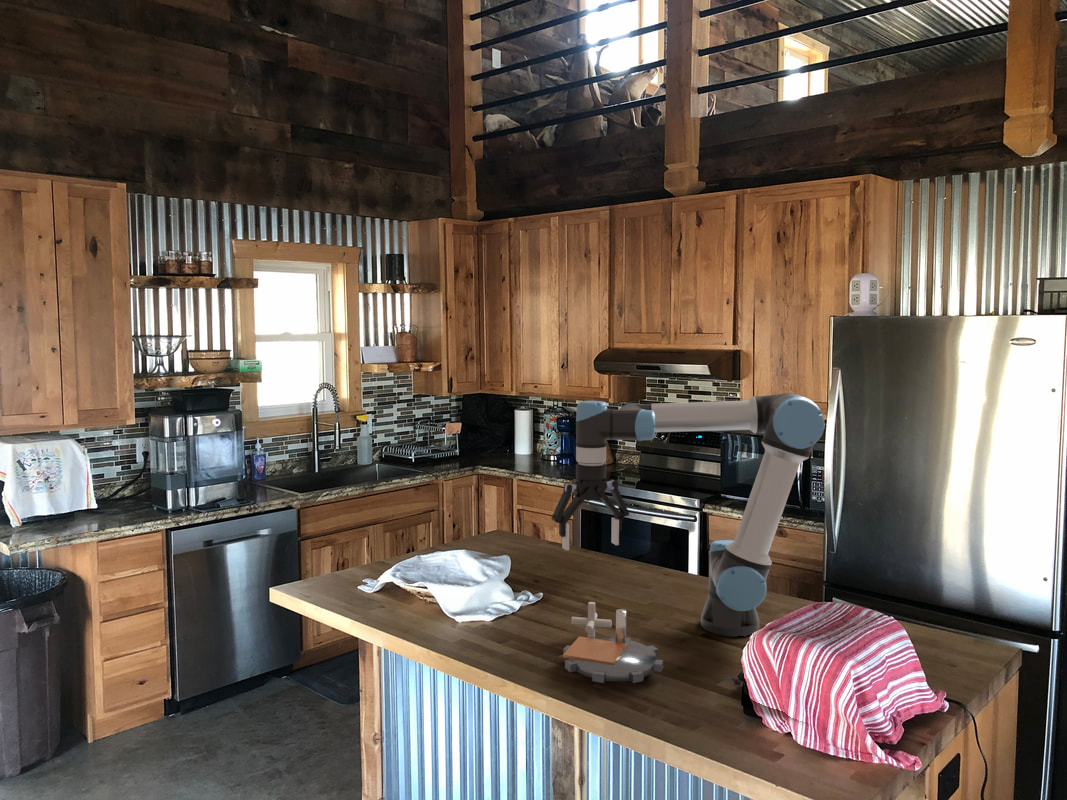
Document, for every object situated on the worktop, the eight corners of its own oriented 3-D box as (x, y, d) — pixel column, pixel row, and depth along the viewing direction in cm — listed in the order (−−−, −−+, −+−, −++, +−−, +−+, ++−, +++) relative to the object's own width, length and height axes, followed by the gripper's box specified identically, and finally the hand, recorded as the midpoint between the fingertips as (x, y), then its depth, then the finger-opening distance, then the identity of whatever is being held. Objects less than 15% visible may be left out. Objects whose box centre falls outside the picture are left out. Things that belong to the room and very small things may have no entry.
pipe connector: (608, 650, 209) (609, 611, 208) (568, 647, 211) (569, 608, 210) (613, 635, 219) (613, 598, 218) (574, 632, 221) (575, 595, 220)
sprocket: (672, 652, 203) (673, 611, 202) (649, 691, 181) (651, 645, 180) (580, 638, 211) (580, 598, 210) (548, 673, 189) (548, 630, 188)
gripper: (629, 457, 220) (628, 538, 222) (538, 463, 211) (539, 547, 213) (642, 462, 213) (641, 545, 215) (550, 468, 204) (550, 555, 206)
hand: (590, 546), depth 214 cm, fingers open, 13 cm apart
